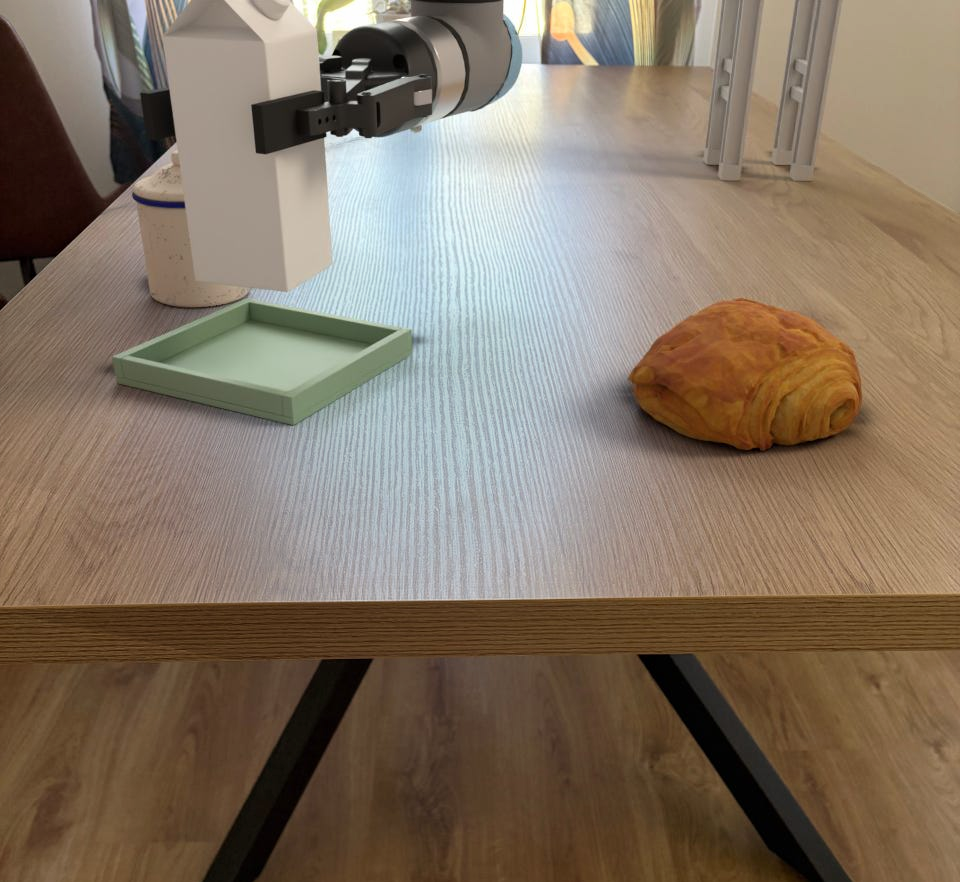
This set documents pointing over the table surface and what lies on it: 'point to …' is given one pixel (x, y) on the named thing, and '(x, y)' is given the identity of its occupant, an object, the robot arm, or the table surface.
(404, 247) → the table surface
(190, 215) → the milk carton
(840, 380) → the croissant
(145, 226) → the teacup with lid
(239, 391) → the drinks tray
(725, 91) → the grey tall open frame
